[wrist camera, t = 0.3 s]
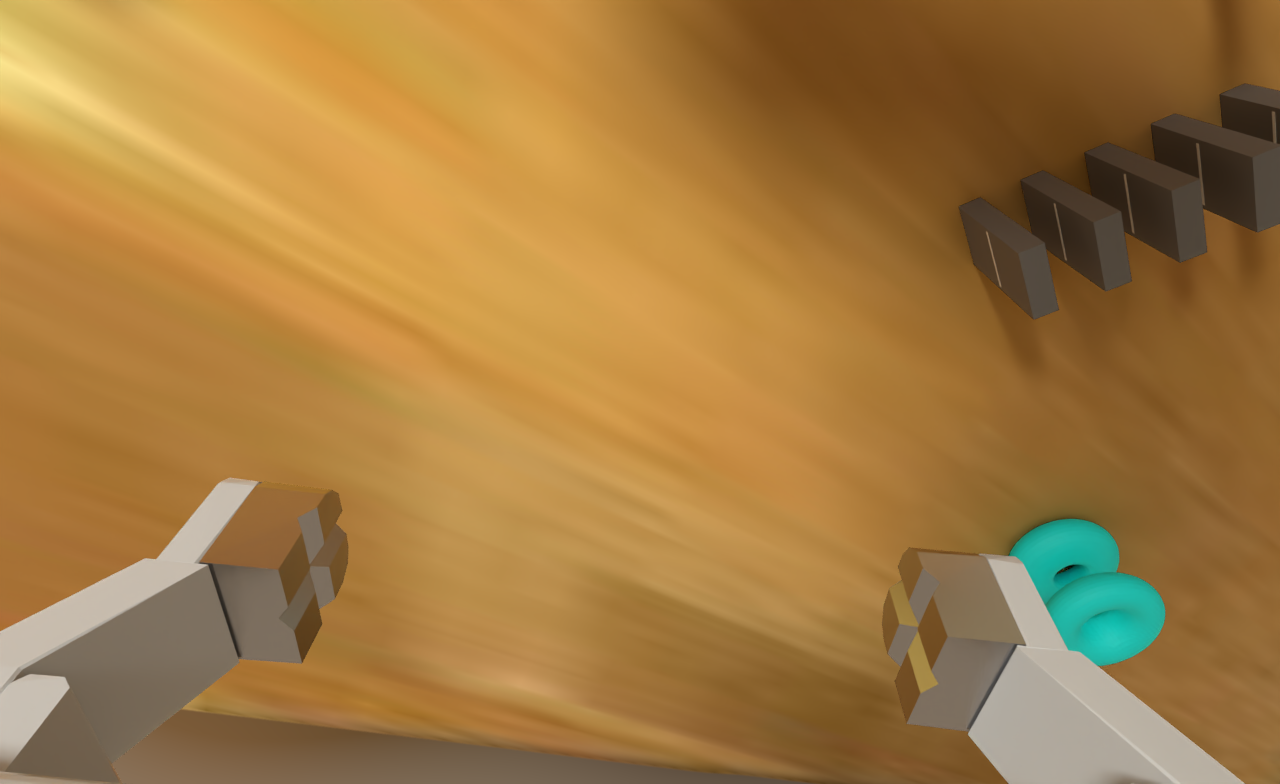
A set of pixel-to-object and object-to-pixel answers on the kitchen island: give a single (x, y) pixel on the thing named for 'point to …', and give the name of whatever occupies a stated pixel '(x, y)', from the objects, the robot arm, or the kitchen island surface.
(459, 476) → the kitchen island surface
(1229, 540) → the kitchen island surface
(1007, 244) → the domino
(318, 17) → the kitchen island surface
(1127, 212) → the domino
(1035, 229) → the domino
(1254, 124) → the domino
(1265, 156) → the domino
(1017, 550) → the donuts
